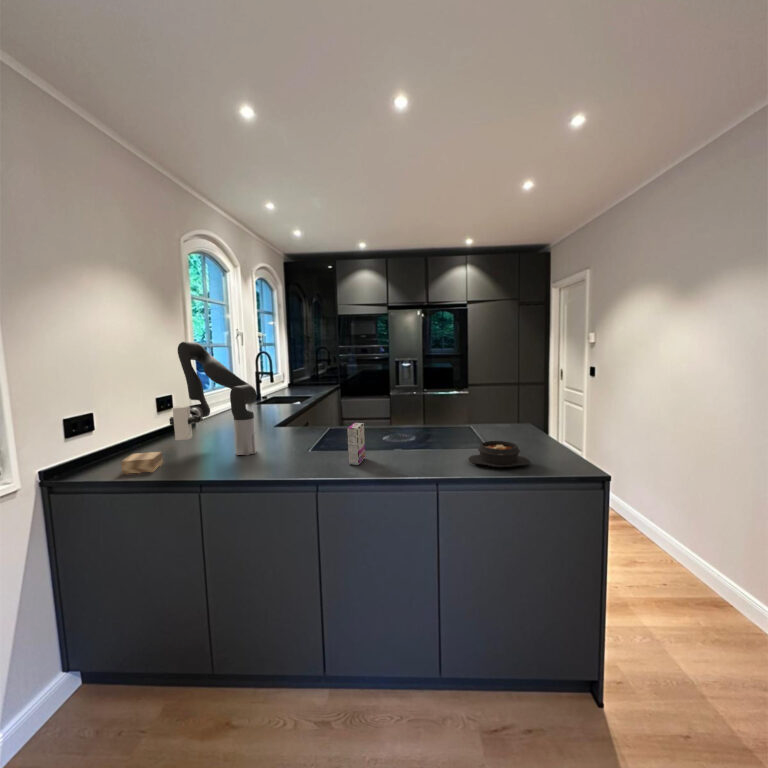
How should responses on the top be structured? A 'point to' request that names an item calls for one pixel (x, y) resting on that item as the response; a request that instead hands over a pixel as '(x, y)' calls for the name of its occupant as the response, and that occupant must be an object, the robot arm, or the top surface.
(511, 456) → the casserole
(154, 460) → the oak block
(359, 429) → the candy bar box
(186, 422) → the off-white column
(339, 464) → the top surface
